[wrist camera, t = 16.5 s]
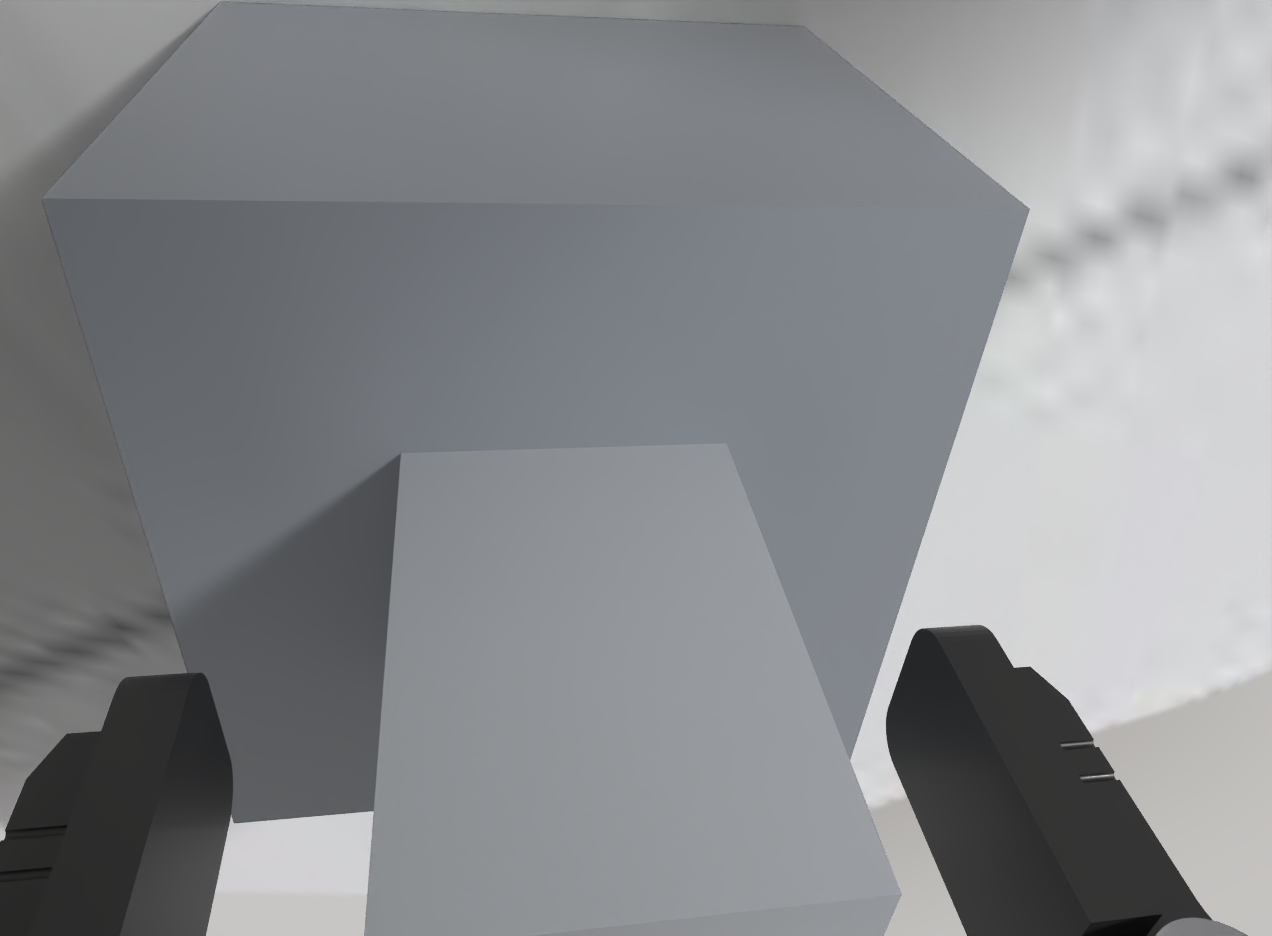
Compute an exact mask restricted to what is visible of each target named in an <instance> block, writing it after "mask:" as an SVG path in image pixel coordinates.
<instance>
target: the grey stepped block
mask: <svg viewBox="0 0 1272 936" xmlns="http://www.w3.org/2000/svg"><path fill="white" fill-rule="evenodd" d="M41 199H42V203H43V206H44V209H45V212H46V216H47V219H48V222H49V225H50V229H51V232H52V235H53V238H54V242H55V245H56V248H57V251H58V254H59V258H60V261H61V264H62V267H63V271H64V274H65V277H66V280H67V284H68V287H69V290H70V293H71V297H72V300H73V303H74V306H75V310H76V313H77V316H78V319H79V323H80V326H81V329H82V332H83V335H84V339H85V342H86V345H87V348H88V352H89V355H90V358H91V361H92V365H93V368H94V371H95V374H96V378H97V381H98V384H99V387H100V391H101V394H102V397H103V400H104V404H105V407H106V410H107V413H108V417H109V420H110V423H111V426H112V429H113V433H114V436H115V439H116V442H117V446H118V449H119V452H120V455H121V459H122V462H123V465H124V468H125V472H126V475H127V478H128V481H129V485H130V488H131V491H132V494H133V498H134V501H135V504H136V507H137V510H138V514H139V517H140V520H141V523H142V527H143V530H144V533H145V536H146V540H147V543H148V546H149V549H150V553H151V556H152V559H153V562H154V566H155V569H156V572H157V575H158V579H159V582H160V585H161V588H162V592H163V595H164V598H165V601H166V604H167V608H168V611H169V614H170V617H171V621H172V624H173V627H174V630H175V634H176V637H177V640H178V643H179V647H180V650H181V653H182V656H183V660H184V663H185V666H186V669H187V673H200V672H201V673H203V674H204V675H205V676H206V678H207V680H208V683H209V686H210V689H211V693H212V696H213V700H214V703H215V706H216V710H217V713H218V717H219V720H220V724H221V727H222V730H223V734H224V737H225V741H226V744H227V748H228V751H229V754H230V758H231V763H232V771H233V801H232V810H231V815H232V818H233V822H234V823H244V822H255V821H266V820H277V819H289V818H300V817H311V816H323V815H334V814H345V813H356V812H368V811H374V815H373V828H372V841H371V854H370V867H369V881H368V894H367V907H366V920H365V933H364V936H884V933H885V931H886V929H887V927H888V924H889V922H890V919H891V917H892V915H893V913H894V910H895V908H896V906H897V903H898V901H899V899H900V897H901V891H900V889H899V886H898V884H897V881H896V879H895V876H894V874H893V871H892V868H891V866H890V863H889V860H888V858H887V855H886V853H885V850H884V848H883V845H882V843H881V840H880V838H879V835H878V832H877V829H876V827H875V824H874V822H873V819H872V817H871V814H870V811H869V809H868V806H867V804H866V801H865V799H864V796H863V793H862V791H861V788H860V786H859V783H858V781H857V778H856V775H855V773H854V770H853V768H852V765H851V763H850V759H851V756H852V753H853V750H854V747H855V744H856V741H857V737H858V734H859V731H860V728H861V725H862V722H863V719H864V716H865V713H866V710H867V707H868V704H869V701H870V698H871V695H872V691H873V688H874V685H875V682H876V679H877V676H878V673H879V670H880V667H881V664H882V661H883V658H884V655H885V652H886V649H887V645H888V642H889V639H890V636H891V633H892V630H893V627H894V624H895V621H896V618H897V615H898V612H899V609H900V606H901V603H902V599H903V596H904V593H905V590H906V587H907V584H908V581H909V578H910V575H911V572H912V569H913V566H914V563H915V560H916V557H917V553H918V550H919V547H920V544H921V541H922V538H923V535H924V532H925V529H926V526H927V523H928V520H929V517H930V514H931V511H932V507H933V504H934V501H935V498H936V495H937V492H938V489H939V486H940V483H941V480H942V477H943V474H944V471H945V468H946V465H947V461H948V458H949V455H950V452H951V449H952V446H953V443H954V440H955V437H956V434H957V431H958V428H959V425H960V422H961V419H962V415H963V412H964V409H965V406H966V403H967V400H968V397H969V394H970V391H971V388H972V385H973V382H974V379H975V376H976V373H977V369H978V366H979V363H980V360H981V357H982V354H983V351H984V348H985V345H986V342H987V339H988V336H989V333H990V330H991V327H992V323H993V320H994V317H995V314H996V311H997V308H998V305H999V302H1000V299H1001V296H1002V293H1003V290H1004V287H1005V284H1006V281H1007V277H1008V274H1009V271H1010V268H1011V265H1012V262H1013V259H1014V256H1015V253H1016V250H1017V247H1018V244H1019V241H1020V238H1021V235H1022V232H1023V228H1024V225H1025V222H1026V219H1027V216H1028V213H1029V210H1030V209H1029V208H1028V207H1027V206H1025V205H1024V204H1023V203H1022V202H1020V201H1019V200H1018V199H1017V198H1015V197H1014V196H1013V195H1012V194H1010V193H1009V192H1008V191H1007V190H1005V189H1004V188H1003V187H1002V186H1001V185H999V184H998V183H997V182H996V181H994V180H993V179H992V178H991V177H989V176H988V175H987V174H986V173H984V172H983V171H982V170H981V169H980V168H978V167H977V166H976V165H975V164H973V163H972V162H971V161H970V160H968V159H967V158H966V157H965V156H963V155H962V154H961V153H960V152H958V151H957V150H956V149H955V148H954V147H952V146H951V145H950V144H949V143H947V142H946V141H945V140H944V139H942V138H941V137H940V136H939V135H937V134H936V133H935V132H934V131H933V130H931V129H930V128H929V127H928V126H926V125H925V124H924V123H923V122H921V121H920V120H919V119H918V118H916V117H915V116H914V115H913V114H911V113H910V112H909V111H908V110H907V109H905V108H904V107H903V106H902V105H900V104H899V103H898V102H897V101H895V100H894V99H893V98H892V97H890V96H889V95H888V94H887V93H886V92H884V91H883V90H882V89H881V88H879V87H878V86H877V85H876V84H874V83H873V82H872V81H871V80H869V79H868V78H867V77H866V76H864V75H863V74H862V73H861V72H860V71H858V70H857V69H856V68H855V67H853V66H852V65H851V64H850V63H848V62H847V61H846V60H845V59H843V58H842V57H841V56H840V55H839V54H837V53H836V52H835V51H834V50H832V49H831V48H830V47H829V46H827V45H826V44H825V43H824V42H822V41H821V40H820V39H819V38H817V37H816V36H815V35H814V34H813V33H811V32H810V31H809V30H808V29H806V28H805V27H802V26H779V25H755V24H732V23H708V22H685V21H662V20H638V19H615V18H591V17H568V16H544V15H521V14H497V13H474V12H451V11H427V10H404V9H380V8H357V7H333V6H310V5H286V4H263V3H240V2H220V3H219V4H218V5H217V6H216V7H215V8H214V9H213V10H212V11H211V13H210V14H209V15H208V16H207V17H206V18H205V19H204V20H203V21H202V22H201V24H200V25H199V26H198V27H197V28H196V29H195V30H194V31H193V32H192V33H191V34H190V36H189V37H188V38H187V39H186V40H185V41H184V42H183V43H182V44H181V45H180V47H179V48H178V49H177V50H176V51H175V52H174V53H173V54H172V55H171V56H170V58H169V59H168V60H167V61H166V62H165V63H164V64H163V65H162V66H161V67H160V68H159V70H158V71H157V72H156V73H155V74H154V75H153V76H152V77H151V78H150V79H149V81H148V82H147V83H146V84H145V85H144V86H143V87H142V88H141V89H140V90H139V92H138V93H137V94H136V95H135V96H134V97H133V98H132V99H131V100H130V101H129V102H128V104H127V105H126V106H125V107H124V108H123V109H122V110H121V111H120V112H119V113H118V115H117V116H116V117H115V118H114V119H113V120H112V121H111V122H110V123H109V124H108V126H107V127H106V128H105V129H104V130H103V131H102V132H101V133H100V134H99V135H98V136H97V138H96V139H95V140H94V141H93V142H92V143H91V144H90V145H89V146H88V147H87V149H86V150H85V151H84V152H83V153H82V154H81V155H80V156H79V157H78V158H77V160H76V161H75V162H74V163H73V164H72V165H71V166H70V167H69V168H68V169H67V171H66V172H65V173H64V174H63V175H62V176H61V177H60V178H59V179H58V180H57V181H56V183H55V184H54V185H53V186H52V187H51V188H50V189H49V190H48V191H47V192H46V194H45V195H44V196H43V197H42V198H41Z"/></svg>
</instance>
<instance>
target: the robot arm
mask: <svg viewBox="0 0 1272 936" xmlns="http://www.w3.org/2000/svg"><path fill="white" fill-rule="evenodd" d="M886 735H887V742H888V748H889V752H890V756H891V759H892V762H893V764H894V767H895V769H896V771H897V774H898V776H899V778H900V781H901V783H902V785H903V788H904V790H905V792H906V794H907V797H908V799H909V801H910V804H911V806H912V808H913V811H914V813H915V815H916V818H917V820H918V822H919V825H920V827H921V829H922V832H923V834H924V836H925V839H926V841H927V843H928V846H929V848H930V850H931V853H932V855H933V857H934V859H935V862H936V864H937V866H938V869H939V871H940V874H941V876H942V878H943V881H944V883H945V885H946V887H947V890H948V892H949V894H950V897H951V899H952V901H953V904H954V906H955V908H956V911H957V913H958V915H959V918H960V920H961V922H962V925H963V927H964V929H965V932H966V934H967V936H1247V935H1246V934H1244V933H1242V932H1240V931H1238V930H1237V929H1234V928H1233V927H1230V926H1228V925H1225V924H1223V923H1220V922H1217V921H1213V920H1212V919H1211V918H1210V917H1209V915H1208V914H1207V913H1206V912H1205V911H1204V909H1203V908H1202V906H1201V905H1200V904H1199V902H1198V901H1197V900H1196V898H1195V897H1194V895H1193V893H1192V892H1191V890H1190V889H1189V887H1188V886H1187V884H1186V882H1185V881H1184V879H1183V878H1182V876H1181V875H1180V873H1179V871H1178V870H1177V868H1176V867H1175V865H1174V864H1173V862H1172V861H1171V859H1170V858H1169V856H1168V854H1167V853H1166V851H1165V850H1164V848H1163V847H1162V845H1161V843H1160V842H1159V840H1158V839H1157V837H1156V836H1155V834H1154V833H1153V831H1152V830H1151V828H1150V826H1149V825H1148V823H1147V822H1146V820H1145V819H1144V817H1143V816H1142V814H1141V812H1140V811H1139V809H1138V808H1137V806H1136V805H1135V803H1134V801H1133V800H1132V798H1131V797H1130V795H1129V794H1128V792H1127V790H1126V789H1125V787H1124V786H1123V784H1122V783H1121V781H1120V780H1116V779H1115V777H1114V770H1113V769H1112V767H1111V766H1110V764H1109V762H1108V761H1107V760H1106V758H1105V756H1104V755H1103V753H1102V752H1101V750H1100V749H1099V747H1095V746H1094V744H1093V738H1092V736H1091V734H1090V733H1089V731H1088V730H1087V728H1086V727H1085V725H1084V724H1083V722H1082V720H1081V719H1080V717H1079V716H1078V714H1077V713H1076V711H1075V709H1074V708H1073V706H1072V705H1071V703H1070V702H1069V700H1068V699H1067V698H1066V697H1064V696H1063V695H1062V694H1061V693H1060V692H1059V691H1058V690H1056V689H1055V688H1054V687H1053V686H1052V685H1051V684H1050V683H1048V682H1047V681H1046V680H1045V679H1044V678H1043V677H1041V676H1040V675H1039V674H1038V673H1037V672H1036V671H1035V670H1033V669H1032V668H1031V667H1020V668H1014V667H1013V666H1012V664H1011V662H1010V661H1009V659H1008V657H1007V656H1006V654H1005V652H1004V651H1003V649H1002V647H1001V646H1000V644H999V642H998V641H997V639H996V638H995V636H994V635H993V633H992V632H991V631H990V630H989V629H987V628H986V627H984V626H982V625H971V626H956V627H940V628H925V629H920V630H918V631H917V632H916V633H915V635H914V636H913V639H912V641H911V644H910V647H909V650H908V653H907V655H906V658H905V661H904V664H903V667H902V670H901V673H900V676H899V678H898V681H897V684H896V687H895V690H894V693H893V696H892V699H891V702H890V704H889V707H888V711H887V717H886ZM232 801H233V771H232V763H231V758H230V754H229V751H228V748H227V744H226V741H225V737H224V734H223V730H222V727H221V724H220V720H219V717H218V713H217V710H216V706H215V703H214V700H213V696H212V693H211V689H210V686H209V683H208V680H207V678H206V676H205V675H204V674H203V673H201V672H200V673H184V674H169V675H153V676H137V677H127V678H125V679H123V680H122V682H121V683H120V684H119V686H118V688H117V690H116V692H115V694H114V697H113V700H112V703H111V705H110V708H109V711H108V714H107V717H106V719H105V722H104V725H103V728H102V731H99V732H85V733H71V734H66V735H65V736H64V737H63V739H62V740H61V741H60V742H59V743H58V744H57V745H56V746H55V748H54V749H53V750H52V751H51V752H50V753H49V754H48V755H47V757H46V758H45V759H44V760H43V761H42V762H41V763H40V764H39V766H38V767H37V768H36V769H35V770H34V771H33V772H32V773H31V775H30V776H29V777H28V778H27V779H26V781H25V784H24V786H23V788H22V791H21V793H20V796H19V798H18V801H17V803H16V805H15V808H14V810H13V813H12V815H11V817H10V820H9V822H8V825H7V827H6V829H5V831H6V836H5V839H4V840H3V841H1V842H0V936H206V932H207V927H208V922H209V917H210V913H211V908H212V903H213V898H214V894H215V889H216V884H217V879H218V875H219V870H220V865H221V860H222V855H223V851H224V846H225V841H226V836H227V832H228V827H229V822H230V817H231V810H232Z"/></svg>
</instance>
